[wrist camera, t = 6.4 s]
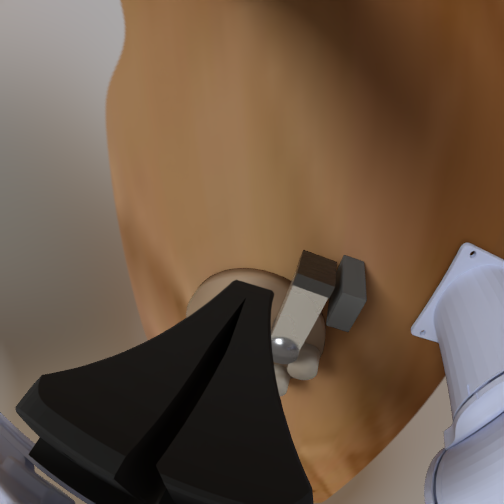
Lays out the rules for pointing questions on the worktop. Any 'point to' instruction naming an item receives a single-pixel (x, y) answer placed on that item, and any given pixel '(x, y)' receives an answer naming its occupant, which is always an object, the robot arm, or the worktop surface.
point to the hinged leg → (302, 305)
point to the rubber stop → (347, 294)
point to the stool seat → (279, 285)
